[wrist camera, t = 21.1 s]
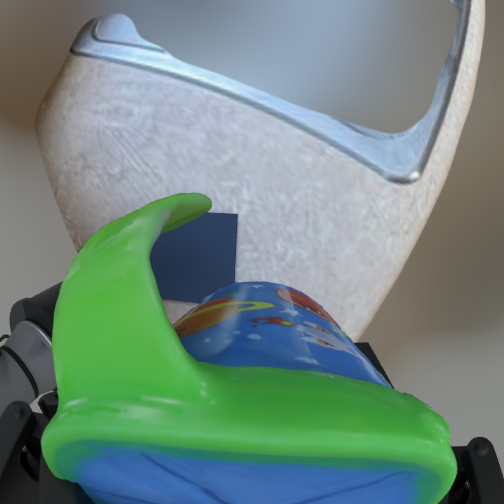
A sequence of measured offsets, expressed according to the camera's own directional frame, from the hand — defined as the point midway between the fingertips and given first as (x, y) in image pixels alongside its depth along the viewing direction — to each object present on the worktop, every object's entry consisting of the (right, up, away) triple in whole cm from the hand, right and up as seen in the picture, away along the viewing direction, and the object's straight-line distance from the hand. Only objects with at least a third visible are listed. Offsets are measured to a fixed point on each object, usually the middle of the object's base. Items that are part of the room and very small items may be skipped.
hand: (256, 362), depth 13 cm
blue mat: (-8, +5, +20) cm, 22 cm away
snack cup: (0, +1, +1) cm, 1 cm away
